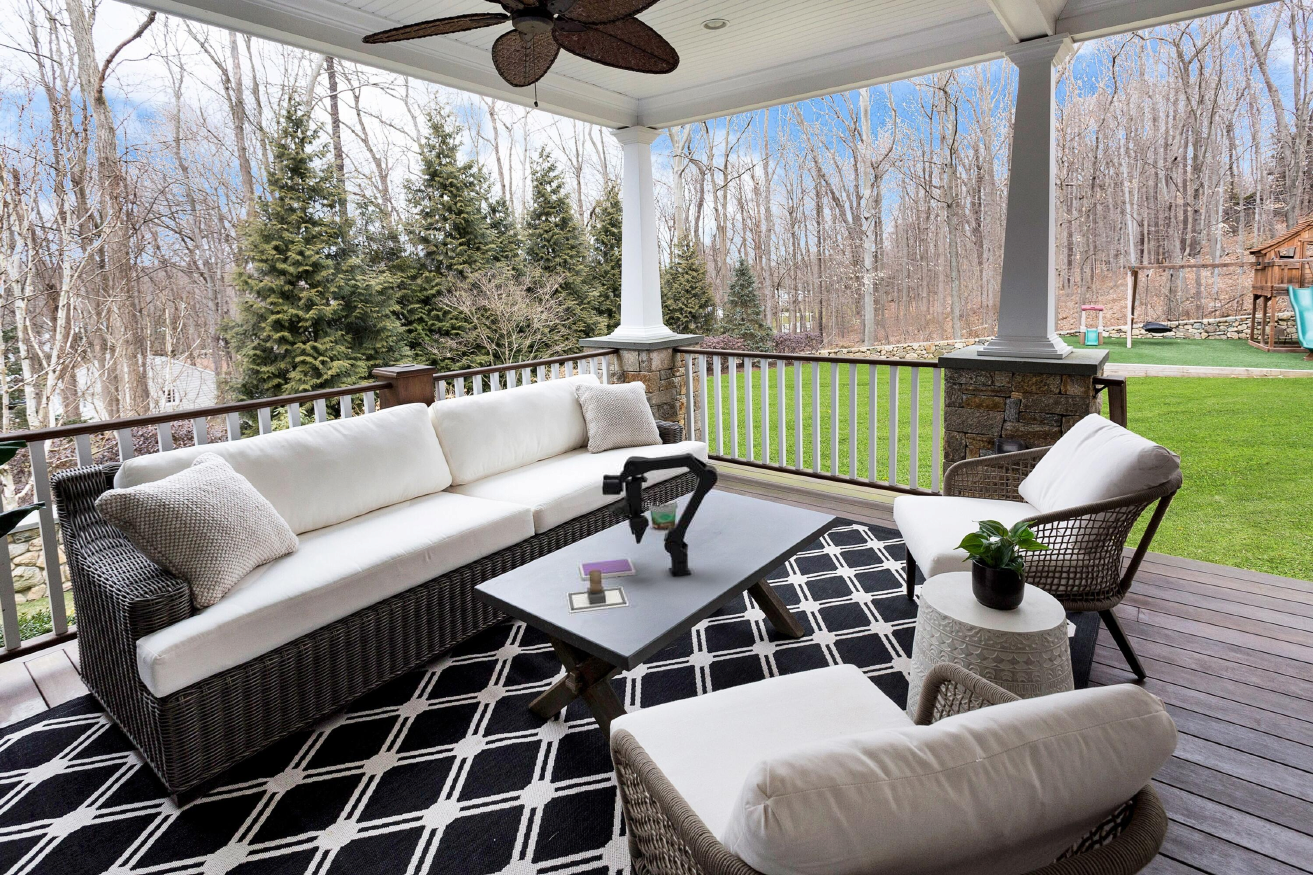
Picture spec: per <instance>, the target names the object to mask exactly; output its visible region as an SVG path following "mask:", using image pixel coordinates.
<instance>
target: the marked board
mask: <svg viewBox="0 0 1313 875" xmlns="http://www.w3.org/2000/svg"><path fill="white" fill-rule="evenodd" d="M604 591H605V595H606V603H600V604H592V605H590V603H589V599H588V594H587V590H582V591H572V592H566V598H567V599H566V601H567V600H568V601H567V606H568V611H569V614H574V612H576V613H583V612H582V611H584V612H591V611H592V612H593V611H600V610H607V609H608V610H609V609H615V608H623V607H629V606H630V605H629V602H628V599H627V596H626V594H625V592H624V589H623V586H617V587H609V588H608V587H607V588H604Z"/></svg>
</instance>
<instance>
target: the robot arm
mask: <svg viewBox="0 0 1313 875" xmlns="http://www.w3.org/2000/svg"><path fill="white" fill-rule="evenodd" d="M678 468H687V469H688V470H690V472H692V474H694V476H696V477H697V482H696V484H695V489H694V490H693V492H692V494H691V496H690V498H689V500H688V501H687V503H686V505H685V506H684V509H683V511H682V513H681V515H680V517H679V518H678V520H677V521H676V522H677V523H675V526H674V527H673V526H671V525H670V526H669V529H668V530H666V531H667V532H665V533H664V537H663V544H664V545H663V547H664V550H665V552H667V553H668V554H669V556H670V564H671V565H670V566H671V567H669V568H668V571H669V572H670V574H671V577H679V576H688V575H691V574H692V571H691V570H690V568H689V554H688V552H689V551H688V550H689V544H688V543H687V542H686V541H684V540H685V537H686V534H687V530H688V528H689V527H690V525H691V523H692V521H693V519H694V517H695V515H696V513H697V512H698V509H699V508H700V506H701V504H702V502H703V500H704V498H705V496H706V495H707V494H708V493H710V491H711V490H712V489H713V488H714V487H715V485H716V484H717V483H718V479H719V478H718V469H717V468H716V467H715V466H713V465H711V464H707V463H706V462H704V461H703V460H701V459H699V458H697V456H695V455H694V454H693V453H691V452H686V453H683V454H675V455H666V456H665V455H664V456H659V457H658V456H657V457H656V456H655V457H647V456H646V457H645V456H641V455H639V456H635V455H632V456H630V457H628V458H627V459H626V460H625V462H624V465H623V470H621V471H620V473H619V474H603V476H602V480H603V481H602V486H601V490H602V495H603V496H620V495H621V494H622V493H623V492H625V495H624V497H623V501H621V502H618V503H616V504H613V505H611V506H609V508H608V510H609V512H610V515H611V517H612V519H613V520H616V519H618V518H619V517H622V516H624V517H625V518H626V519H627V520H628V521H627V522H628V527H629V529H630V532H631V535H634V538H635V543H636V544H637V545H638V544H639V545H640V544H641V542H642V539H643V537H644V535H645V532H646V531H647V529H648V527H649V525H650V521H649V518H648V517H647V516H646V515H645V510H644V502H645V499H644V497H643V493H644V492H643V483H645V484H646V483H648V480H649V479H648V477H647V476H646V475H645V474H647V473H650V472H654V471H663V470H664V471H665V470H670V469H678ZM624 490H625V491H624Z"/></svg>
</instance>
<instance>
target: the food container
mask: <svg viewBox="0 0 1313 875" xmlns="http://www.w3.org/2000/svg"><path fill="white" fill-rule="evenodd" d="M678 506H679V505H678V502H677V500H675V501H674V502H672V503H661V504H658V505H651V504H649V506H648V511H650V517H651V524H652V529H654V530H657V531H668V529H669V526H670V525H671V526H673V527H674V526H675V525H676V516H677V515H676V514H677V510H678V508H679V507H678Z"/></svg>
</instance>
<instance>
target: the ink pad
mask: <svg viewBox="0 0 1313 875" xmlns="http://www.w3.org/2000/svg"><path fill="white" fill-rule="evenodd" d="M578 567H579V572H580V576H581V581H583V582H584V580H585V581H590V575H589V572H590V571H591V570H600V571H601V580H602V579H603V580H604V579H609V578H618V576H620V577H628V575H629V576H636V570H635V567H634V565H633V563H632V560H631V559H630V558H624V559H623V558H622V559H613V560H604V561H595V562H586V563H585V562H583V563H578Z"/></svg>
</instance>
